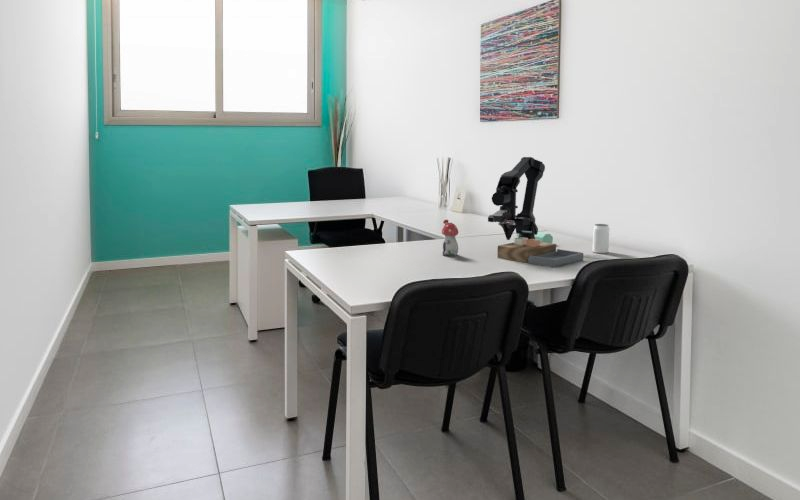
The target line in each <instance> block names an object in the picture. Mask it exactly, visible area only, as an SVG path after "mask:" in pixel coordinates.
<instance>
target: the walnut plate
mask: <svg viewBox="0 0 800 500" xmlns="http://www.w3.org/2000/svg"><path fill="white" fill-rule="evenodd" d="M514 243H515V241H514V242H511V243H505V244H504V243H503V244H499V245H497V258H499V259H504V260H510V261H515V262H522V263H528V258H529V255H531V256H538V255H542V254H546V253H551V252H555V251H557V244H556V243H553V242H552V243H545V242H540V246H536V247H531V246H526V245H518V244H514Z"/></svg>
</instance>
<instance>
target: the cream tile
mask: <svg viewBox="0 0 800 500" xmlns="http://www.w3.org/2000/svg"><path fill="white" fill-rule="evenodd" d="M526 240H528V238H523V237H518V236H517V237H514V242H515V243H514V242H513V243H514V244H518V245H526Z"/></svg>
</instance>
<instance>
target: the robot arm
mask: <svg viewBox="0 0 800 500" xmlns="http://www.w3.org/2000/svg"><path fill="white" fill-rule="evenodd" d="M545 170H546V165H545V164H544V163H543V161H540V160H539V159H535V158H534V157H532V156H523V157H521V159H520V161H519V162H517V164H516V165H515V166H514V167H513V168H512V169H511V170H509V171H505V172H504V173H502V174H501V175H500V178H499V180H498V183H497V186H496V188H495V189H496V190H495V192H494V193H493V194H492V197H491V202H492V203H493V205H495V206H496V207H499V206H500V207H499V210H498V211H497V210H496V212H494V213H493V214H490V215H489V216H488V217H487V222H489V223H498V226H500V227H501V228H502V230H503V232H504V235H505V238H506V240H507V241H510V240H511V238H512V236H513V233H514V231H515V233H516V235H517V234H519V237H523V238H528V239H535V237H534V236H535V235H537V234H538V232H539V228H538V226H537V223H536V217H535V215H534V207H535V201H536V194H537V191H538V190H537V188H538V183H539V181H540V180H541V179H542V178H543V176H544V172H545ZM523 175H525V177H526V186H525V191H524V197H523V202H522V203H523V204H522V209H521V211H520V212H519V213H517V212H516V211H517V209H518V208H519V207H518V205H517V193H518V189H517V188H518V186H519V185H520V183H521V177H523ZM516 213H517V214H516ZM528 231H530V232H528ZM531 231H532V232H531Z"/></svg>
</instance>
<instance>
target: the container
mask: <svg viewBox="0 0 800 500" xmlns="http://www.w3.org/2000/svg"><path fill="white" fill-rule="evenodd" d="M528 232H530V231H528ZM531 232H532V231H531ZM516 236H517V238H518V237H519V234H516ZM534 237H535V239H538V240H540V242H545V243H552V244H553V242H554V241H553V240H554V238H553V236H552V234H551V233H543V232H539V231H538V234H537V235H535V236H534Z"/></svg>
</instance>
